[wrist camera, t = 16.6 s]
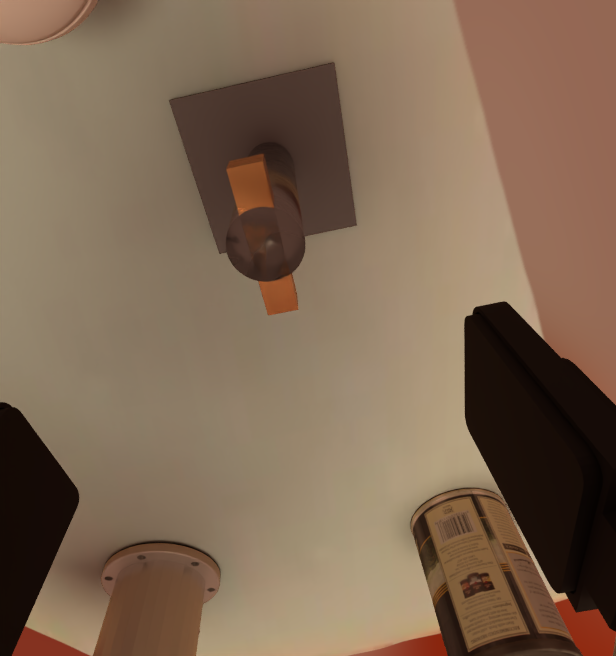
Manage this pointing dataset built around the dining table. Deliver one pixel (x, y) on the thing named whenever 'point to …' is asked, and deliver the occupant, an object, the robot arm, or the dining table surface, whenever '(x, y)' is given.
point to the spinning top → (40, 19)
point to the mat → (271, 126)
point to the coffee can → (485, 580)
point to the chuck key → (267, 224)
